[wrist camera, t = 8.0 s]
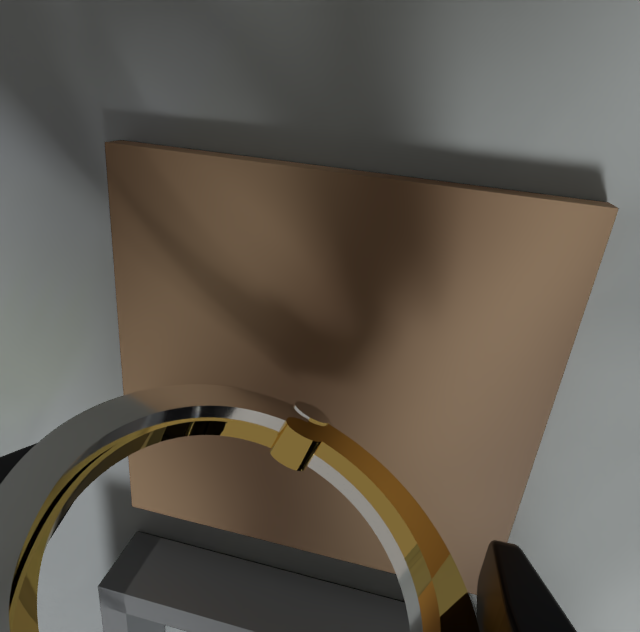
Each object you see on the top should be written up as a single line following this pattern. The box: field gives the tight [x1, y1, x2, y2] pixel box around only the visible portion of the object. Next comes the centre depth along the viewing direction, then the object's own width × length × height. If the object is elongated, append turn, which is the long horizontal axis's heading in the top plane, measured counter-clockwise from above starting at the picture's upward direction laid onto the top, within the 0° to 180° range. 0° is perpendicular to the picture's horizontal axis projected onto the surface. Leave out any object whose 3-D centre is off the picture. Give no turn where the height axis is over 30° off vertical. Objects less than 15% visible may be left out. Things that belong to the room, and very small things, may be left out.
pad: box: [105, 140, 619, 595], centre depth 12 cm, size 10×10×1 cm
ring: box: [0, 384, 480, 632], centre depth 7 cm, size 7×3×8 cm, turn 65°
